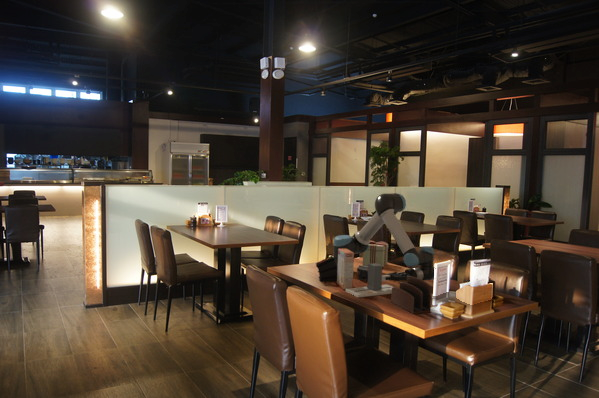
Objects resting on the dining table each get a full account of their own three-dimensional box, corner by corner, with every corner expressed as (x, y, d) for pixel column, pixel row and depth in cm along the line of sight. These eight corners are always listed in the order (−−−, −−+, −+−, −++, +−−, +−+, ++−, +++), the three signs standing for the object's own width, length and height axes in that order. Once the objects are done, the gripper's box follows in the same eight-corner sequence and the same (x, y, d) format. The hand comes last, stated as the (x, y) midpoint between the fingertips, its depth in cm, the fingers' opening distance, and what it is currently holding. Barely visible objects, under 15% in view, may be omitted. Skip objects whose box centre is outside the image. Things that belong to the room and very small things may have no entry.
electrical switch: (373, 281, 261) (373, 266, 260) (368, 283, 257) (368, 268, 256) (361, 278, 268) (360, 264, 267) (356, 280, 264) (355, 265, 263)
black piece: (343, 278, 258) (333, 256, 257) (323, 288, 257) (313, 266, 255) (341, 277, 262) (332, 255, 260) (322, 286, 261) (312, 264, 259)
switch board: (386, 286, 249) (387, 284, 249) (400, 292, 238) (400, 289, 238) (345, 291, 237) (345, 288, 237) (357, 297, 226) (357, 294, 226)
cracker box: (353, 289, 241) (354, 252, 240) (342, 290, 240) (344, 252, 239) (346, 283, 255) (347, 248, 253) (336, 283, 254) (337, 248, 252)
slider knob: (375, 286, 242) (376, 263, 241) (382, 289, 236) (383, 265, 236) (366, 287, 239) (367, 263, 238) (373, 290, 234) (374, 266, 233)
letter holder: (407, 300, 224) (408, 273, 223) (430, 312, 205) (432, 283, 204) (390, 302, 220) (391, 274, 220) (412, 314, 202) (413, 284, 201)
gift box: (388, 263, 316) (389, 239, 315) (384, 268, 299) (385, 243, 298) (365, 261, 322) (366, 238, 321) (359, 265, 305) (360, 241, 304)
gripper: (420, 284, 243) (386, 288, 232) (405, 278, 254) (372, 282, 244) (421, 271, 242) (387, 274, 232) (405, 266, 254) (372, 269, 243)
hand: (379, 278), depth 238 cm, fingers closed
